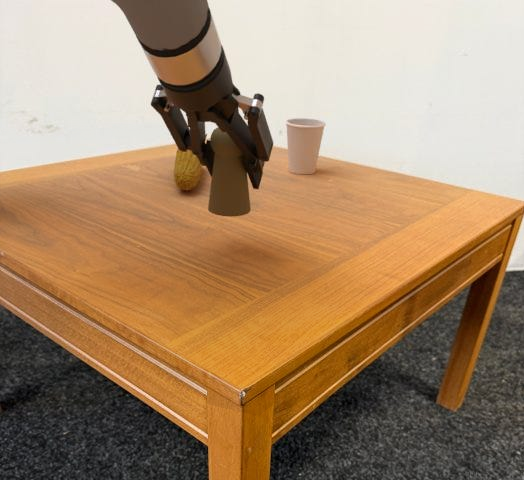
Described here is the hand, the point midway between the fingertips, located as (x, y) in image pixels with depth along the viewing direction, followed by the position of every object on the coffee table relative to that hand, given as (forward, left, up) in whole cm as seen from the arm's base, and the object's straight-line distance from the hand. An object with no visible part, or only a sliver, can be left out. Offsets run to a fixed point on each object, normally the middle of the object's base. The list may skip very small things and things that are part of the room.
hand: (238, 177), depth 79 cm
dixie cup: (-1, +43, -10) cm, 44 cm away
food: (-20, +26, -10) cm, 34 cm away
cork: (0, -4, -4) cm, 5 cm away
